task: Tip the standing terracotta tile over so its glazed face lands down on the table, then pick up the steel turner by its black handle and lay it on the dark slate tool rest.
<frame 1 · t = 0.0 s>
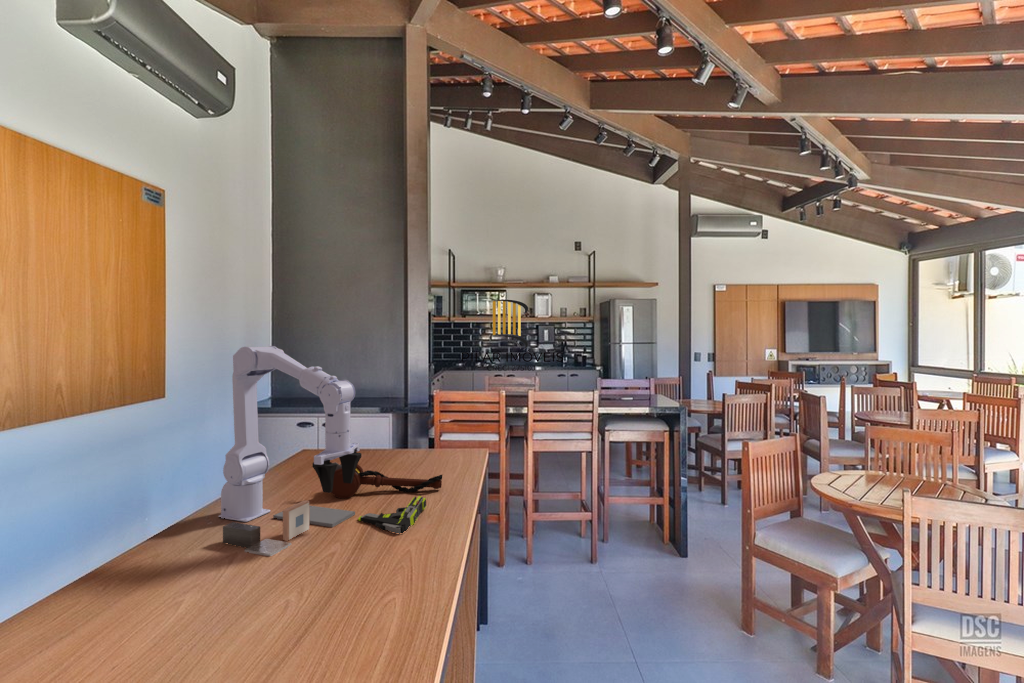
hand: (337, 487, 120), 10 cm above the table, tool pointing down, fingers open, 7 cm apart
tool rest: (314, 516, 128), on the table
gavel: (384, 493, 149), on the table
toy gun: (389, 521, 127), on the table
turner: (252, 545, 111), on the table
tile: (296, 535, 117), on the table
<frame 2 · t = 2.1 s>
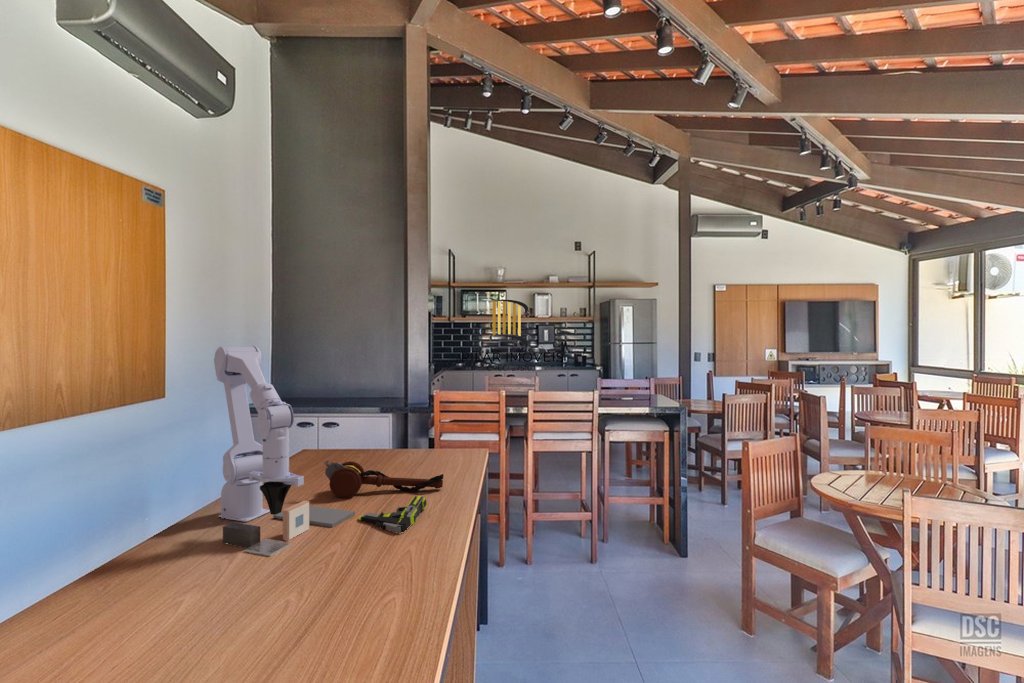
hand: (276, 513, 119), 4 cm above the table, tool pointing down, fingers closed
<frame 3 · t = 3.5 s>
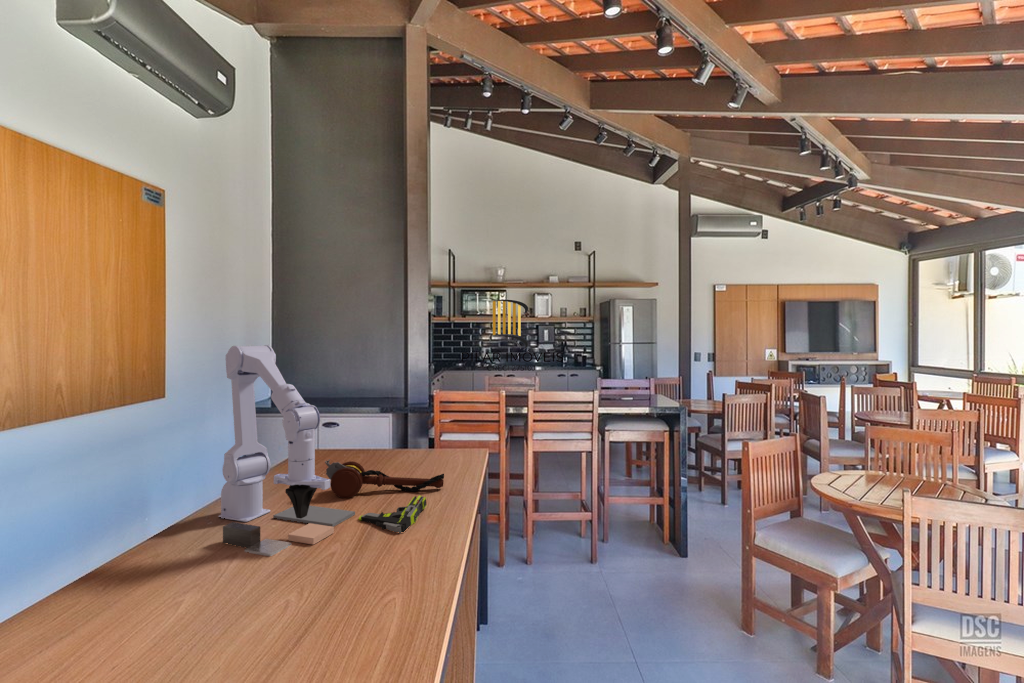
hand: (301, 516, 116), 4 cm above the table, tool pointing down, fingers closed
tile: (299, 531, 117), point 1 cm above the table, tilted 90°
everything else where it was.
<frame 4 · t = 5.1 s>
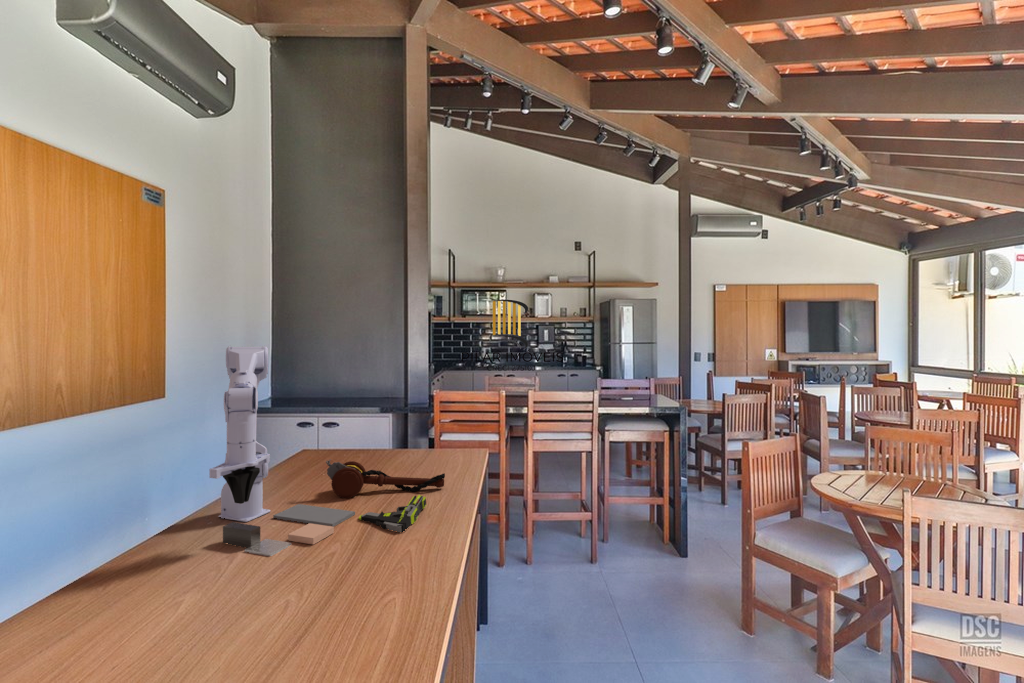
hand: (241, 501, 112), 9 cm above the table, tool pointing down, fingers closed
nothing on the table moved.
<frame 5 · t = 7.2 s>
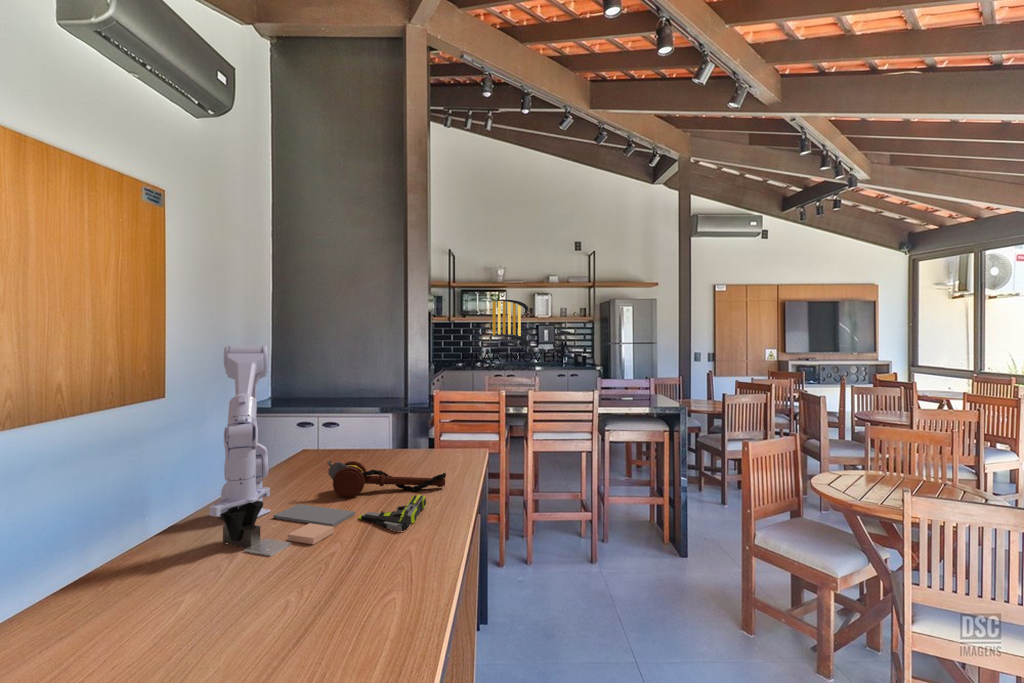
hand: (241, 537, 112), 1 cm above the table, tool pointing down, fingers closed on turner, 3 cm apart
turner: (252, 545, 111), on the table, touching gripper
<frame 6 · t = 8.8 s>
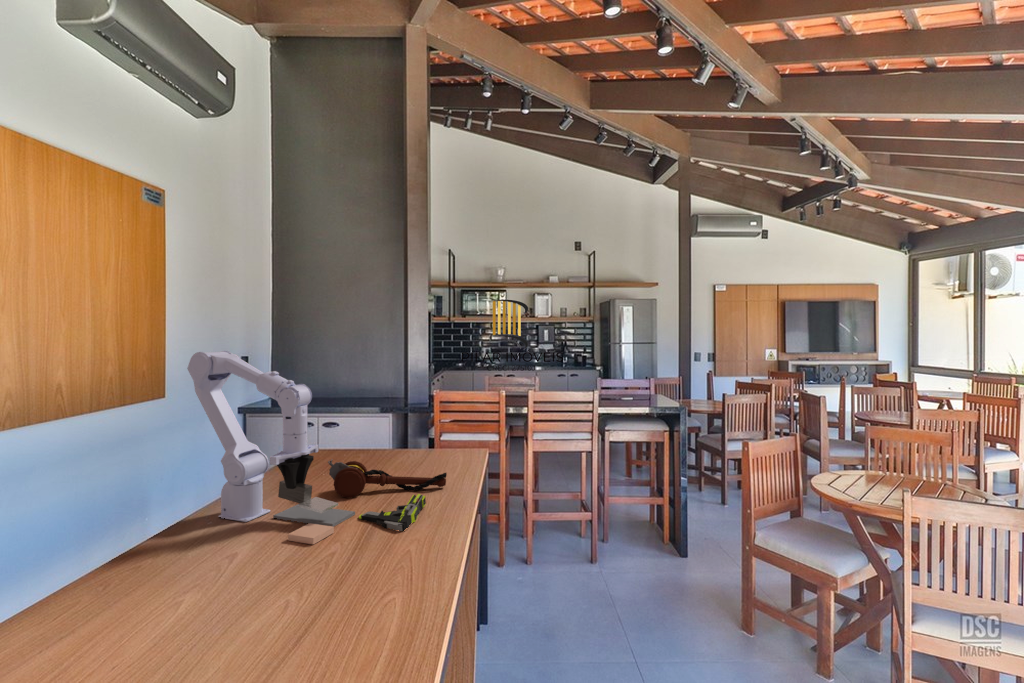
hand: (295, 486, 126), 8 cm above the table, tool pointing down, fingers closed on turner, 3 cm apart
turner: (304, 501, 125), point 5 cm above the table, tilted 7°, touching gripper
when the fingers open (3 cm above the table, at t = 10.4 s): turner stays where it is, resting on tool rest.
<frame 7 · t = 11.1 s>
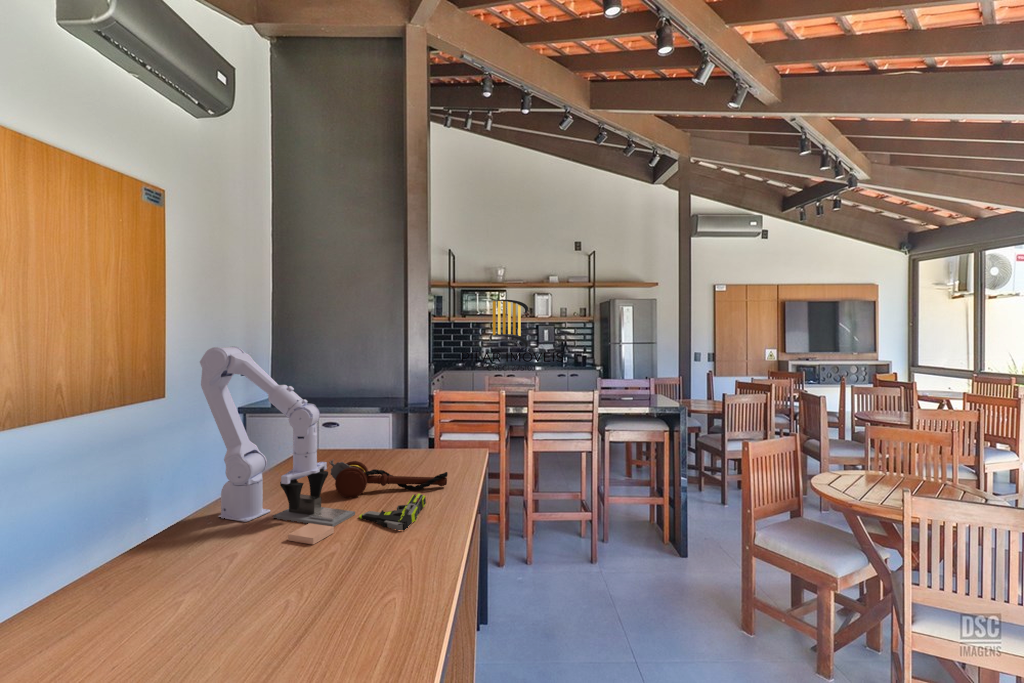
hand: (305, 504, 129), 3 cm above the table, tool pointing down, fingers open, 7 cm apart
turner: (314, 513, 128), point 1 cm above the table, touching tool rest
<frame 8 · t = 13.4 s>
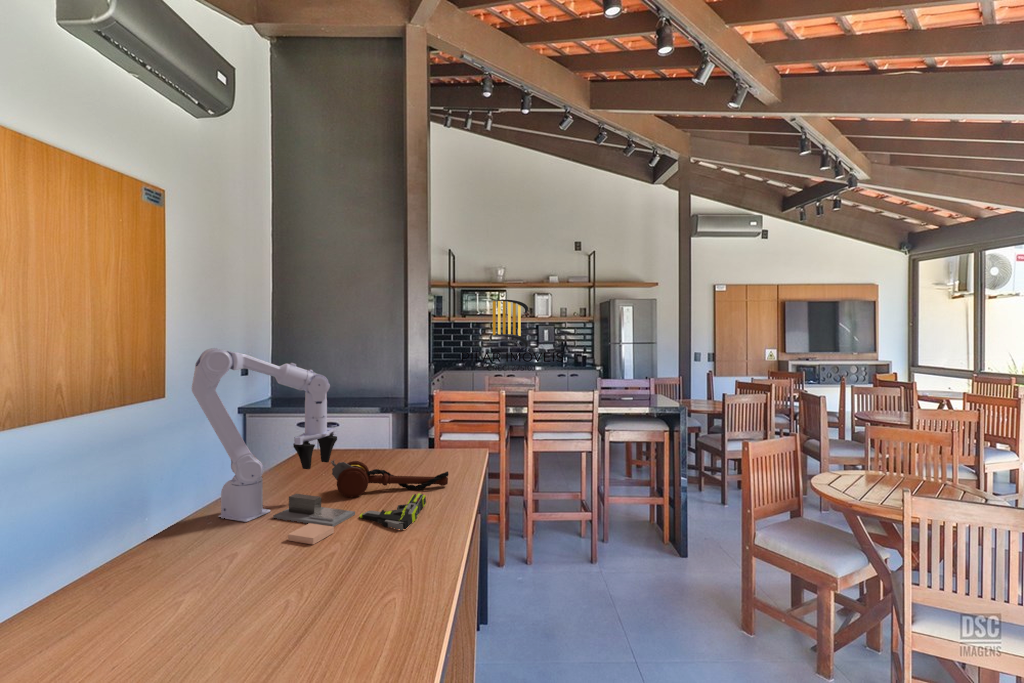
hand: (316, 465, 139), 10 cm above the table, tool pointing down, fingers open, 7 cm apart
at the end: tile tilted 90°; turner inside the target area on the tool rest (0.0 cm from its centre), point 0.8 cm above the tool rest's base; the gripper is holding nothing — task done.
